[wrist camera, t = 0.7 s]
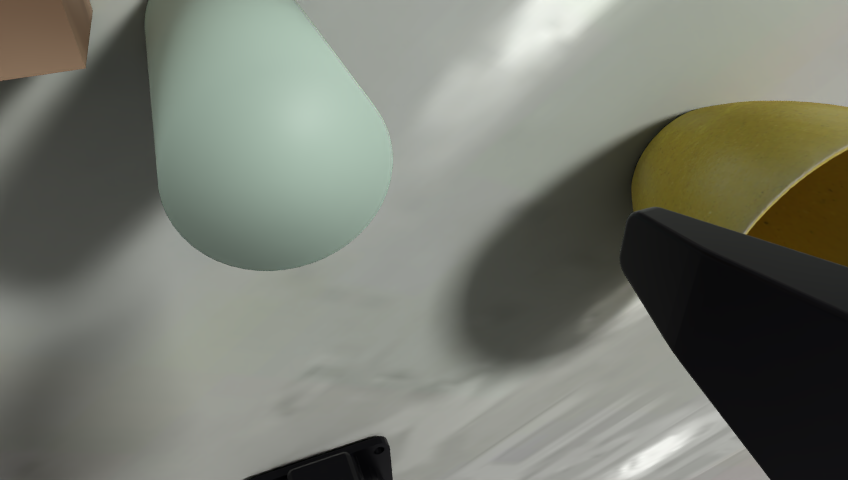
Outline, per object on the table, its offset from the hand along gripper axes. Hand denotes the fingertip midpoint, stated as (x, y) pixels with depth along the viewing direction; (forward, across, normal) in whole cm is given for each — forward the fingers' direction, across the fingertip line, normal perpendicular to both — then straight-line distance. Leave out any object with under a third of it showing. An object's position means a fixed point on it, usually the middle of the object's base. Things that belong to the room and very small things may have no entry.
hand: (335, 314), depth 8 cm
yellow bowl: (+12, -17, +8) cm, 22 cm away
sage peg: (+12, 0, 0) cm, 12 cm away
